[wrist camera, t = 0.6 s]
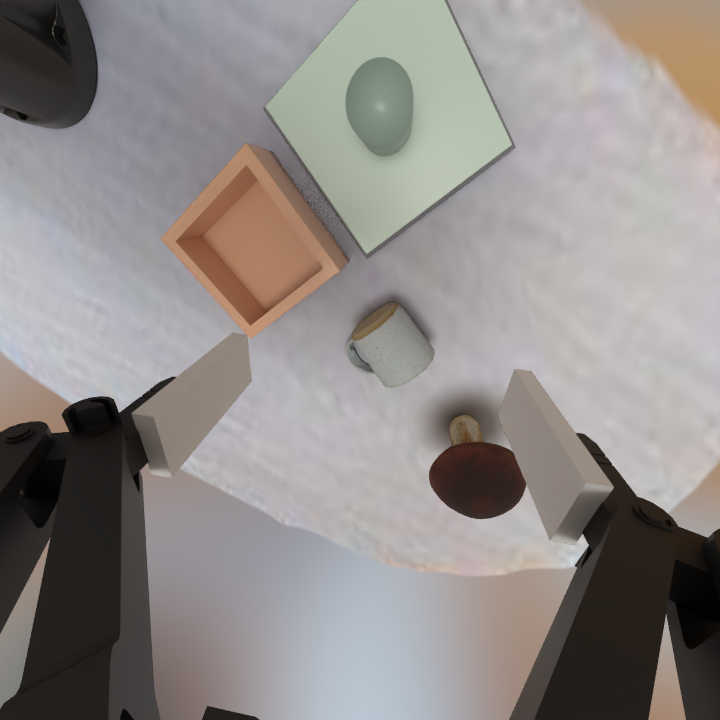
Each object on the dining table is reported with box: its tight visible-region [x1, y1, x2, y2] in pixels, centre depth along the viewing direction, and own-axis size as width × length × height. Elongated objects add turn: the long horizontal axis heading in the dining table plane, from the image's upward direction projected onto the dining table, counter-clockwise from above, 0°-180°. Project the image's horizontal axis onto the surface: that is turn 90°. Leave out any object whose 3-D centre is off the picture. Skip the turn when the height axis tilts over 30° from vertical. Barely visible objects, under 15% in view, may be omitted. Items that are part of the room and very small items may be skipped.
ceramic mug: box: [346, 303, 435, 388], centre depth 39 cm, size 11×8×8 cm
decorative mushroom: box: [429, 415, 526, 519], centre depth 40 cm, size 11×11×15 cm
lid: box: [265, 0, 512, 254], centre depth 27 cm, size 17×17×9 cm
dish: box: [161, 143, 349, 339], centre depth 36 cm, size 14×14×6 cm
